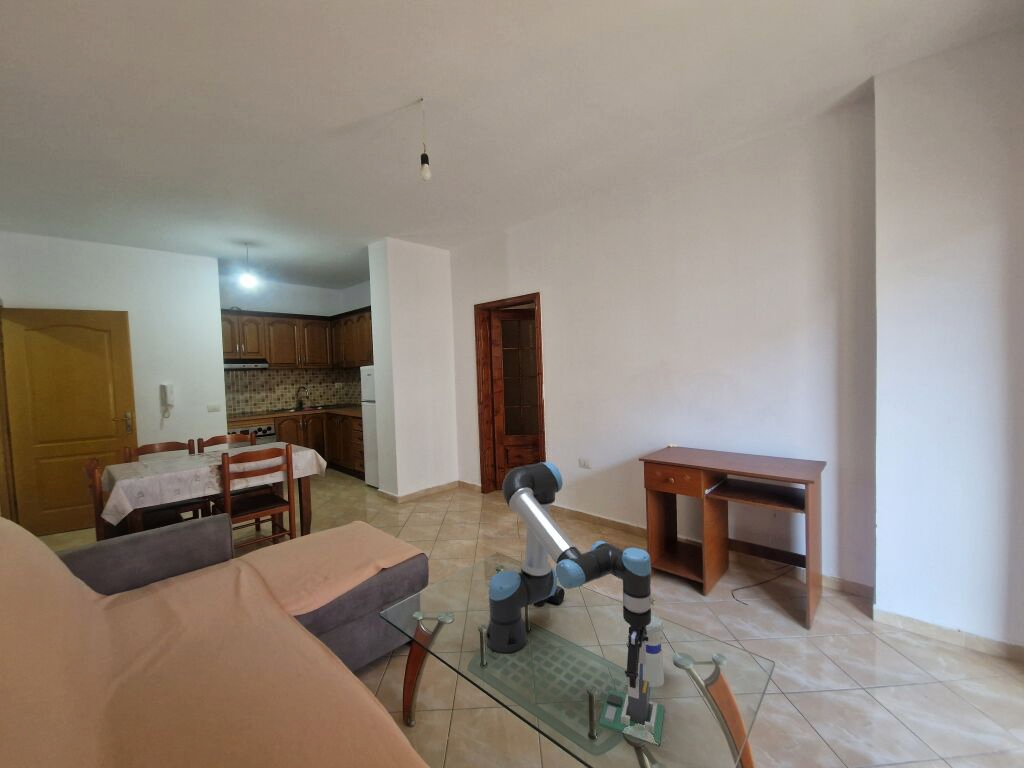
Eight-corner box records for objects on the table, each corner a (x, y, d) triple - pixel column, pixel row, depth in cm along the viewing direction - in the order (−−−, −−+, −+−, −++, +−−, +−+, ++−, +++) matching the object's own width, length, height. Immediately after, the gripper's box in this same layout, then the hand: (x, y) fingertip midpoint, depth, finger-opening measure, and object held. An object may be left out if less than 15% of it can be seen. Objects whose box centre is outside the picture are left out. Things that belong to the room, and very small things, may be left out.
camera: (551, 614, 171) (550, 590, 170) (530, 606, 177) (529, 583, 177) (570, 596, 183) (569, 574, 183) (550, 589, 189) (550, 568, 189)
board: (599, 726, 116) (598, 715, 116) (609, 693, 128) (609, 683, 128) (659, 747, 109) (659, 735, 109) (664, 710, 121) (664, 699, 121)
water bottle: (633, 670, 138) (631, 595, 137) (658, 667, 138) (656, 593, 137) (642, 689, 129) (640, 610, 128) (669, 686, 130) (667, 608, 129)
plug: (628, 720, 117) (627, 687, 116) (631, 706, 121) (630, 675, 121) (647, 726, 115) (646, 693, 114) (649, 712, 119) (648, 680, 119)
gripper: (644, 636, 104) (644, 717, 105) (656, 586, 126) (656, 654, 127) (614, 628, 107) (614, 707, 108) (630, 581, 130) (631, 647, 131)
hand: (637, 678), depth 118 cm, fingers open, 13 cm apart
